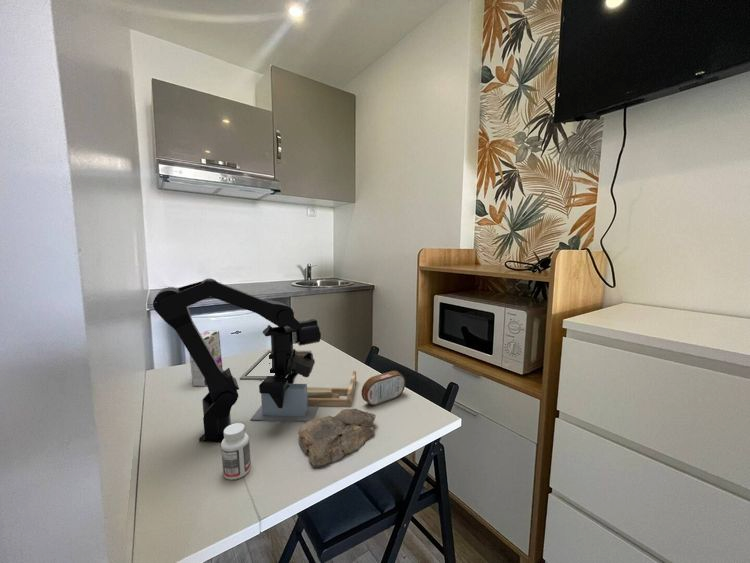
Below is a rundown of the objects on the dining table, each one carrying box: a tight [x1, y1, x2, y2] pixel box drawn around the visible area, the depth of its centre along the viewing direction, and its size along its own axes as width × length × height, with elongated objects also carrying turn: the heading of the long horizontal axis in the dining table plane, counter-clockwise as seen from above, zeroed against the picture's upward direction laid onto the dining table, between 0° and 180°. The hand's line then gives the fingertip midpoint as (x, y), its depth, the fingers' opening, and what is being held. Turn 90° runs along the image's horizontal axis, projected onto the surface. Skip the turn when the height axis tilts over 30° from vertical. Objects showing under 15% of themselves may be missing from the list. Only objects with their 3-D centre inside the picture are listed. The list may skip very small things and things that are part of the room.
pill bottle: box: [220, 422, 252, 481], centre depth 64 cm, size 5×5×10 cm
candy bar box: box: [188, 330, 223, 387], centre depth 106 cm, size 11×5×16 cm, turn 179°
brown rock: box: [297, 408, 377, 468], centre depth 75 cm, size 14×5×20 cm
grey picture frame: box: [239, 349, 312, 381], centre depth 121 cm, size 19×2×30 cm
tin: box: [361, 370, 406, 406], centre depth 92 cm, size 15×3×8 cm, turn 123°
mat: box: [250, 404, 319, 423], centre depth 85 cm, size 7×17×1 cm, turn 87°
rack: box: [307, 370, 357, 408], centre depth 97 cm, size 16×23×4 cm
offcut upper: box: [307, 387, 333, 398], centre depth 93 cm, size 3×9×2 cm, turn 91°
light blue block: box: [260, 383, 308, 416], centre depth 85 cm, size 3×12×8 cm, turn 87°
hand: (284, 401), depth 85 cm, fingers open, 6 cm apart
